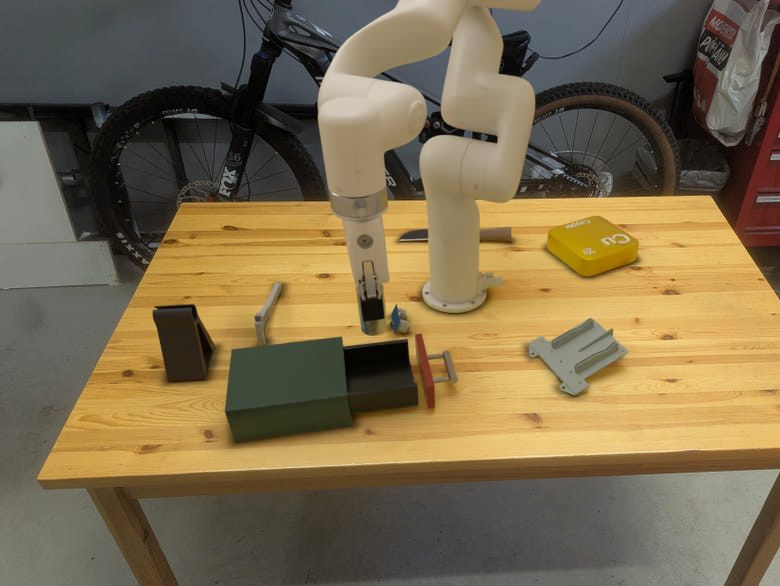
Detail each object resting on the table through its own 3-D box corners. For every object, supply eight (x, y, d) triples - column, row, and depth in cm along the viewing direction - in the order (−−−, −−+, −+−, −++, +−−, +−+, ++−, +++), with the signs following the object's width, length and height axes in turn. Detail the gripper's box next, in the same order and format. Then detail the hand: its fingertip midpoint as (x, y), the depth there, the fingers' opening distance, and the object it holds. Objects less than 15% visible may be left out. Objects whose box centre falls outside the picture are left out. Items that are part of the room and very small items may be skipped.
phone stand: (205, 380, 111) (185, 322, 103) (168, 382, 110) (145, 324, 102) (215, 346, 118) (198, 290, 110) (180, 348, 117) (160, 292, 109)
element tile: (596, 230, 152) (599, 211, 149) (640, 260, 142) (644, 240, 139) (542, 247, 146) (544, 227, 143) (584, 279, 136) (587, 259, 133)
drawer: (447, 352, 116) (446, 330, 113) (461, 404, 106) (461, 381, 103) (326, 367, 112) (322, 345, 109) (329, 422, 102) (325, 399, 99)
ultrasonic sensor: (402, 339, 121) (409, 325, 120) (390, 336, 120) (398, 322, 119) (399, 320, 126) (406, 306, 124) (387, 317, 125) (394, 303, 123)
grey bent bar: (266, 349, 117) (259, 320, 113) (259, 349, 117) (252, 320, 113) (282, 285, 133) (277, 258, 129) (277, 285, 133) (271, 258, 129)
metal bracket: (587, 301, 120) (639, 348, 109) (591, 324, 124) (641, 371, 114) (520, 340, 117) (567, 392, 107) (526, 361, 121) (572, 413, 111)
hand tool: (399, 224, 149) (510, 220, 148) (401, 236, 151) (511, 232, 150) (397, 235, 145) (511, 231, 144) (399, 248, 147) (511, 244, 146)
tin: (385, 318, 103) (381, 278, 98) (388, 334, 100) (384, 293, 95) (360, 321, 103) (354, 281, 98) (362, 337, 100) (356, 296, 95)
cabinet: (346, 366, 114) (341, 336, 110) (352, 426, 103) (347, 395, 99) (240, 379, 111) (231, 349, 107) (234, 442, 100) (224, 411, 96)
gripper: (395, 225, 82) (404, 341, 94) (380, 168, 94) (390, 276, 106) (333, 232, 80) (351, 348, 92) (326, 172, 93) (343, 281, 105)
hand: (372, 308), depth 99 cm, fingers closed on tin, 4 cm apart
